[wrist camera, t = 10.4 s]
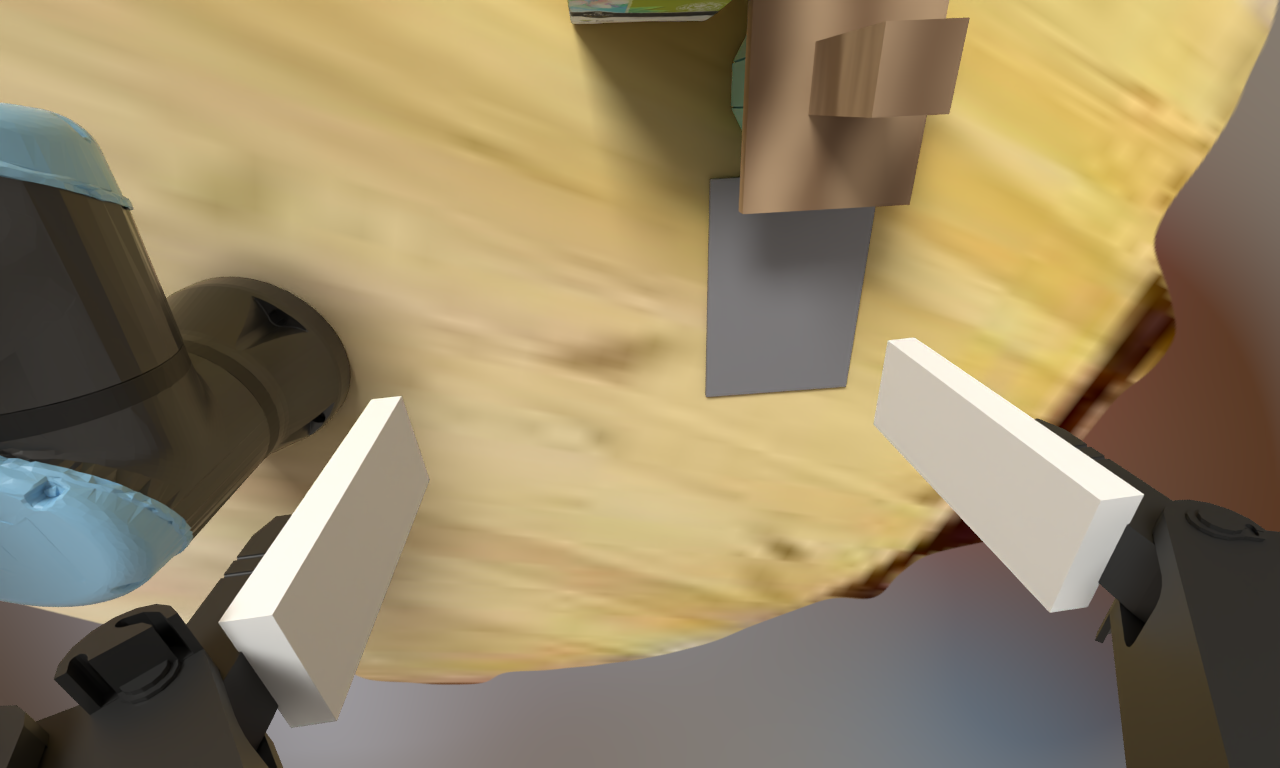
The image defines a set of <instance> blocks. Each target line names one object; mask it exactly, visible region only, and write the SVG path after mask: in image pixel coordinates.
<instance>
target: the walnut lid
mask: <svg viewBox="0 0 1280 768" xmlns="http://www.w3.org/2000/svg"><path fill="white" fill-rule="evenodd" d="M948 4H949V0H748V16H747V37H746V59H745V81H744V103H743V124H742V146H741V168H740V190H739V212H740V213H742V214H755V213H772V212H789V211H806V210H824V209H841V208H858V207H875V206H893V205H910V199H911V194H912V189H913V184H914V179H915V174H916V169H917V163H918V158H919V153H920V148H921V143H922V138H923V132H924V127H925V122H926V117H927V115H938V114H949V112H950V108H951V103H952V98H953V94H954V89H955V84H956V79H957V75H958V70H959V65H960V61H961V56H962V51H963V46H964V42H965V37H966V32H967V28H968V23H969V18H949V19H946V14H947V9H948Z"/></svg>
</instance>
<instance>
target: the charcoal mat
mask: <svg viewBox="0 0 1280 768" xmlns="http://www.w3.org/2000/svg"><path fill="white" fill-rule="evenodd" d="M739 190H740V177H737V178H719V179H710V194H709V243H708V292H707V341H706V391H705V395H706V397H713V396H726V395H740V394H753V393H767V392H780V391H793V390H807V389H820V388H834V387H846V382H847V376H848V370H849V364H850V358H851V352H852V346H853V340H854V334H855V328H856V322H857V316H858V310H859V304H860V298H861V291H862V285H863V279H864V273H865V267H866V261H867V255H868V249H869V243H870V237H871V231H872V225H873V219H874V213H875V207H876V206H875V207H858V208H841V209H824V210H806V211H789V212H772V213H755V214H742V213H740V212H739Z"/></svg>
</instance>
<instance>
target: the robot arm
mask: <svg viewBox="0 0 1280 768" xmlns="http://www.w3.org/2000/svg"><path fill="white" fill-rule="evenodd" d="M130 210H133V206H132V203H131V202H130V200H129V199H127V198H126V197H124V196H123V195H122V193H121V191H120V189H119V187H118V185H117V183H116V180H115V178H114V176H113V174H112V172H111V170H110V168H109V166H108V164H107V161H106V159H105V157H104V155H103V153H102V151H101V149H100V147H99V145H98V143H97V142H96V141H95V139H94V138H93V137H92V136H91V135H90V134H89V133H88V132H87V131H86V130H85V129H84V128H82V127H81V126H80V125H78V124H77V123H75V122H73V121H72V120H70V119H68V118H66V117H64V116H62V115H60V114H57V113H54V112H51V111H47V110H43V109H39V108H33V107H27V106H20V105H14V104H7V103H0V601H4V602H10V603H16V604H23V605H31V606H42V607H73V606H84V605H91V604H97V603H101V602H105V601H109V600H112V599H115V598H118V597H121V596H123V595H125V594H128V593H130V592H132V591H134V590H135V589H137V588H138V587H140V586H141V585H143V584H144V583H145V582H147V581H148V580H149V579H150V578H151V577H152V576H153V575H154V574H156V573H157V572H158V571H159V570H160V569H161V568H162V567H163V566H164V565H165V564H166V563H167V562H168V561H169V560H170V559H171V558H173V557H174V556H175V555H177V554H179V553H181V552H182V551H183V550H184V549H185V548H186V547H187V546H188V545H189V544H190V542H191V541H192V540H193V538H194V537H195V536H196V535H197V534H198V533H199V532H200V531H201V529H202V528H203V527H204V526H205V525H206V524H207V523H208V522H209V520H210V519H211V518H212V517H213V516H214V515H215V514H216V513H217V511H218V510H219V509H220V508H221V507H222V506H223V505H224V504H225V502H226V501H227V500H228V499H229V498H230V497H231V496H232V495H233V493H234V492H235V491H236V490H237V489H238V488H239V487H240V486H241V485H242V483H243V482H244V481H245V480H246V479H247V478H248V477H249V476H250V474H251V473H252V472H253V471H254V470H255V469H256V468H257V467H258V465H259V464H260V463H261V462H262V461H263V460H264V459H265V458H266V457H267V456H268V455H269V454H271V453H273V452H275V451H278V450H280V449H282V448H284V447H286V446H288V445H291V444H293V443H295V442H297V441H299V440H302V439H304V438H306V437H308V436H310V435H312V434H313V433H315V432H316V431H318V430H319V429H320V428H322V427H323V426H324V425H325V424H326V423H327V422H328V421H329V420H330V419H331V418H332V416H333V415H334V414H335V413H336V412H337V411H338V409H339V408H340V407H341V405H342V404H343V402H344V400H345V398H346V396H347V393H348V389H349V384H350V369H349V363H348V359H347V355H346V353H345V350H344V348H343V345H342V343H341V341H340V340H339V338H338V336H337V335H336V333H335V332H334V330H333V329H332V328H331V326H330V325H329V324H328V323H327V322H326V320H325V319H324V318H323V317H322V316H321V315H320V314H319V313H317V312H316V311H315V310H314V309H313V308H312V307H310V306H309V305H308V304H307V303H305V302H304V301H302V300H301V299H299V298H298V297H296V296H294V295H293V294H291V293H289V292H287V291H285V290H283V289H281V288H278V287H276V286H274V285H271V284H268V283H265V282H261V281H258V280H253V279H248V278H240V277H219V278H212V279H207V280H203V281H200V282H197V283H195V284H193V285H191V286H188V287H186V288H184V289H182V290H180V291H177V292H175V293H173V294H172V295H170V296H169V297H167V298H166V297H165V294H164V292H163V290H162V287H161V285H160V282H159V280H158V277H157V275H156V273H155V270H154V268H153V265H152V263H151V260H150V258H149V256H148V253H147V251H146V248H145V246H144V243H143V241H142V239H141V236H140V234H139V231H138V229H137V226H136V224H135V222H134V219H133V217H132V214H131V212H130ZM874 426H875V427H876V428H877V429H878V430H879V431H880V432H881V433H882V434H883V435H884V436H885V437H886V438H887V439H888V440H889V442H890V443H891V444H892V445H893V446H894V447H895V448H896V449H897V450H898V451H899V452H900V453H901V454H902V455H903V456H904V458H905V459H906V460H907V461H908V462H909V463H910V464H911V465H912V466H913V467H914V468H915V469H916V470H917V471H918V472H919V474H920V475H921V476H922V477H923V478H924V479H925V480H926V481H927V482H928V483H929V484H930V485H931V486H932V487H933V488H934V490H935V491H936V492H937V493H938V494H939V495H940V496H941V497H942V498H943V499H944V500H945V501H946V502H947V503H948V504H949V506H950V507H951V508H952V509H953V510H954V511H955V512H956V513H957V514H958V515H959V516H960V517H961V518H962V519H963V520H964V522H965V523H966V524H967V525H968V526H969V527H970V528H971V529H972V530H973V531H974V532H975V533H976V534H977V535H978V536H979V538H980V539H981V540H982V541H983V542H984V543H985V544H986V545H987V546H988V547H989V548H990V549H991V550H992V551H993V552H994V554H995V555H997V557H998V558H999V559H1000V560H1001V561H1002V562H1003V563H1004V564H1005V565H1006V566H1007V567H1008V569H1009V570H1010V571H1012V573H1013V574H1014V575H1015V576H1016V577H1017V578H1018V579H1019V580H1020V581H1021V582H1022V583H1023V584H1024V586H1025V587H1026V588H1027V589H1028V590H1029V591H1030V592H1031V593H1032V594H1033V595H1034V596H1035V597H1036V598H1037V599H1038V600H1039V602H1040V603H1042V605H1043V606H1044V607H1045V608H1046V609H1047V610H1048V611H1049V612H1057V611H1063V610H1070V609H1076V608H1083V607H1088V605H1089V603H1090V601H1091V599H1092V597H1093V595H1094V593H1095V591H1096V589H1097V587H1098V585H1099V584H1101V585H1102V586H1103V587H1104V588H1105V589H1106V590H1107V591H1108V592H1109V593H1111V594H1112V595H1113V596H1114V597H1115V600H1114V602H1113V604H1112V606H1111V608H1110V609H1109V611H1108V613H1107V615H1106V617H1105V619H1104V621H1103V623H1102V625H1101V626H1100V628H1099V630H1098V632H1097V636H1096V639H1095V641H1098V642H1101V643H1103V642H1104V640H1105V638H1106V636H1107V634H1110V633H1112V641H1113V650H1114V659H1115V668H1116V677H1117V686H1118V695H1119V704H1120V713H1121V722H1122V732H1123V741H1124V750H1125V759H1126V767H1127V768H1280V532H1274V531H1266V530H1265V529H1263V528H1262V527H1260V526H1259V525H1257V524H1256V523H1255V522H1253V521H1252V520H1250V519H1249V518H1246V517H1244V516H1242V515H1240V514H1238V513H1236V512H1234V511H1232V510H1229V509H1226V508H1223V507H1220V506H1217V505H1214V504H1210V503H1206V502H1200V501H1194V500H1175V501H1172V500H1170V499H1169V498H1167V497H1166V496H1164V495H1163V494H1161V493H1160V492H1158V491H1157V490H1155V489H1154V488H1152V487H1151V486H1149V485H1148V484H1146V483H1145V482H1143V481H1142V480H1140V479H1139V478H1137V477H1136V476H1134V475H1133V474H1131V473H1130V472H1128V471H1127V470H1125V469H1123V468H1122V467H1121V466H1119V465H1118V464H1116V463H1114V462H1113V461H1111V460H1110V459H1105V458H1104V455H1102V454H1101V453H1099V452H1098V451H1096V450H1095V449H1093V448H1092V447H1087V444H1086V443H1084V442H1083V441H1081V440H1080V439H1078V438H1077V437H1075V436H1074V435H1072V434H1071V433H1069V432H1068V431H1066V430H1064V429H1062V428H1059V427H1057V426H1055V425H1052V424H1050V423H1047V422H1045V421H1043V420H1040V419H1033V418H1031V417H1030V416H1029V415H1027V414H1026V413H1024V412H1023V411H1021V410H1020V409H1018V408H1017V407H1015V406H1014V405H1012V404H1011V403H1010V402H1008V401H1007V400H1005V399H1004V398H1002V397H1001V396H999V395H998V394H996V393H995V392H993V391H992V390H990V389H989V388H988V387H986V386H985V385H983V384H982V383H980V382H979V381H977V380H976V379H974V378H973V377H971V376H970V375H969V374H967V373H966V372H964V371H963V370H961V369H960V368H958V367H957V366H955V365H954V364H952V363H951V362H950V361H948V360H947V359H945V358H944V357H942V356H941V355H939V354H938V353H936V352H935V351H933V350H932V349H930V348H929V347H928V346H926V345H925V344H923V343H922V342H920V341H919V340H917V339H916V338H906V339H897V340H888V342H887V348H886V354H885V360H884V366H883V372H882V378H881V383H880V389H879V395H878V401H877V407H876V413H875V419H874ZM429 480H430V479H429V476H428V473H427V470H426V467H425V464H424V461H423V458H422V455H421V452H420V449H419V446H418V443H417V440H416V437H415V434H414V431H413V428H412V425H411V422H410V419H409V416H408V413H407V410H406V407H405V404H404V401H403V398H402V396H397V397H388V398H379V399H371V401H370V402H369V404H368V405H367V407H366V408H365V410H364V411H363V412H362V414H361V415H360V417H359V418H358V420H357V421H356V423H355V424H354V426H353V427H352V428H351V430H350V431H349V433H348V434H347V436H346V437H345V439H344V440H343V442H342V443H341V444H340V446H339V447H338V449H337V450H336V452H335V453H334V455H333V456H332V458H331V459H330V460H329V462H328V463H327V465H326V466H325V468H324V469H323V471H322V472H321V474H320V475H319V476H318V478H317V479H316V481H315V482H314V484H313V485H312V487H311V488H310V490H309V491H308V492H307V494H306V495H305V497H304V498H303V500H302V501H301V503H300V504H299V506H298V507H297V508H296V510H295V511H294V513H293V514H292V515H284V516H276V517H275V518H274V519H273V520H271V521H270V522H269V523H268V524H266V525H265V526H264V527H263V528H262V529H260V530H259V531H258V532H257V533H255V534H254V535H253V536H252V537H251V539H250V540H249V541H248V543H247V544H246V545H245V547H244V548H243V549H242V551H241V552H240V553H239V555H238V556H237V560H236V561H233V563H232V564H231V565H230V567H229V568H228V570H227V571H226V572H225V574H224V575H225V576H224V578H221V579H220V580H219V582H218V583H217V584H216V586H215V587H214V588H213V590H212V591H211V592H210V594H209V595H208V596H207V598H206V599H205V600H204V602H203V603H202V604H201V606H200V607H199V608H198V610H197V611H196V612H195V614H194V615H193V616H192V618H191V619H190V620H189V622H188V623H187V625H186V624H185V623H184V621H183V620H182V619H181V617H180V616H179V615H178V613H177V612H176V611H175V610H174V609H173V608H172V607H171V606H168V605H160V604H154V605H149V606H145V607H140V608H136V609H134V610H131V611H129V612H126V613H124V614H122V615H119V616H117V617H115V618H113V619H111V620H110V621H108V622H106V623H105V624H103V625H101V626H100V627H98V628H96V629H95V630H93V631H92V632H90V633H89V634H88V635H87V636H86V637H85V638H83V639H82V640H81V641H80V642H78V643H77V644H76V645H75V646H74V647H72V649H71V650H70V651H69V652H68V653H67V655H66V656H65V657H64V659H63V660H62V661H61V662H60V663H59V665H58V668H57V671H56V674H55V677H54V680H55V681H56V682H57V683H58V684H59V685H60V686H61V687H62V688H63V689H64V690H65V691H66V692H67V693H68V694H69V695H70V696H71V697H72V698H73V699H74V700H75V701H76V702H77V703H78V704H79V705H78V706H76V707H73V708H71V709H68V710H65V711H62V712H60V713H57V714H55V715H52V716H49V717H47V718H44V719H42V720H39V721H36V722H35V721H34V720H33V719H32V718H31V717H30V716H29V715H28V714H27V713H25V712H24V711H23V710H22V709H20V708H19V707H18V706H17V705H16V706H0V768H283V766H282V764H281V761H280V759H279V756H278V754H277V751H276V749H275V746H274V743H273V742H272V740H271V739H270V738H269V736H268V735H267V734H266V730H267V729H268V727H269V725H270V723H271V721H272V719H273V716H274V714H275V712H276V710H277V708H278V710H279V711H280V712H281V714H282V715H283V717H284V718H285V720H286V721H287V723H288V724H289V725H290V727H291V728H293V727H299V726H306V725H313V724H319V723H325V722H333V721H337V719H338V717H339V714H340V711H341V709H342V706H343V704H344V701H345V698H346V696H347V693H348V691H349V688H350V685H351V682H352V680H353V677H354V675H355V672H356V670H357V667H358V665H359V662H360V659H361V657H362V654H363V652H364V649H365V646H366V644H367V641H368V639H369V636H370V633H371V631H372V628H373V626H374V623H375V620H376V618H377V615H378V613H379V610H380V607H381V605H382V602H383V600H384V597H385V594H386V592H387V589H388V587H389V584H390V581H391V579H392V576H393V574H394V571H395V568H396V566H397V563H398V561H399V558H400V555H401V553H402V550H403V548H404V545H405V542H406V540H407V537H408V535H409V532H410V529H411V527H412V524H413V522H414V519H415V516H416V514H417V511H418V509H419V506H420V503H421V501H422V498H423V496H424V493H425V490H426V488H427V485H428V483H429Z"/></svg>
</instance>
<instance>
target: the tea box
mask: <svg viewBox="0 0 1280 768" xmlns="http://www.w3.org/2000/svg"><path fill="white" fill-rule="evenodd" d="M731 1H732V0H568V7H569V14H570V20H571V23H572V24H596V23H616V22H642V21H705V20H707V19H709V18H710V17H712V16H713V15H714V14H716V13H718V11H719V10H721V9H722V8H723V7H724V6H726V5H727V4H728V3H729V2H731Z"/></svg>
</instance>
